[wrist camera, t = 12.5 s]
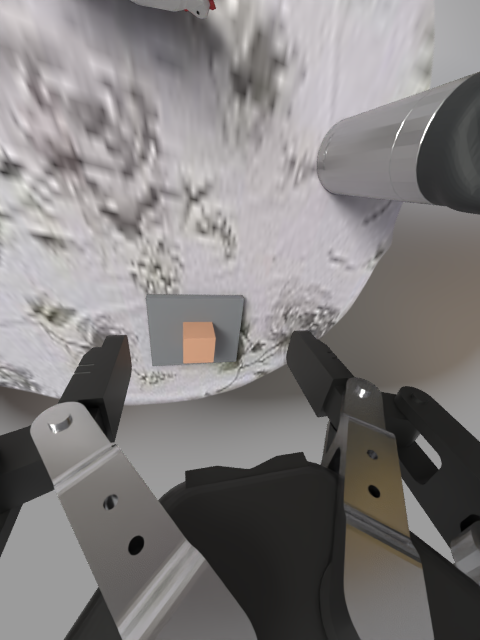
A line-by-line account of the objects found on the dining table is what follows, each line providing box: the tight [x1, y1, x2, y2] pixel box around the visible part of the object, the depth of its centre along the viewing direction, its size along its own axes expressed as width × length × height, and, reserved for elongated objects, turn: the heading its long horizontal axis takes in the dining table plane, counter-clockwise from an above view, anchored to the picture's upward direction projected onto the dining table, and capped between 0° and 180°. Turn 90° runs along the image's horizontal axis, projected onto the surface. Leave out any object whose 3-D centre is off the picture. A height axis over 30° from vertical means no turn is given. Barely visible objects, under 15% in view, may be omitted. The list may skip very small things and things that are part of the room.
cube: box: [183, 322, 216, 364], centre depth 40 cm, size 5×5×5 cm
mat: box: [146, 294, 244, 366], centre depth 43 cm, size 16×14×2 cm
